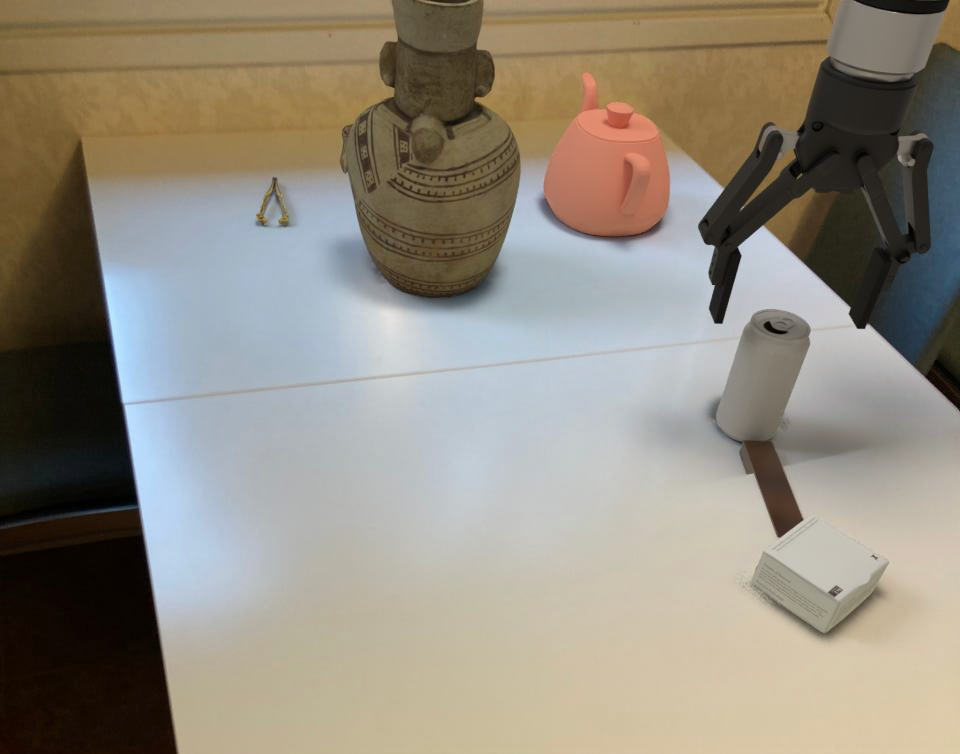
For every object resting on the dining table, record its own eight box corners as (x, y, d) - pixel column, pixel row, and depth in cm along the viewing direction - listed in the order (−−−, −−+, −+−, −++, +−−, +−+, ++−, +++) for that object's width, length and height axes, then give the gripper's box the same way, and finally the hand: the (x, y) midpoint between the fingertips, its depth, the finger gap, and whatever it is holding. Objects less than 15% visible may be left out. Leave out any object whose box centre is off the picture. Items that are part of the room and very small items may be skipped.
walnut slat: (804, 548, 85) (810, 536, 84) (773, 547, 85) (778, 535, 84) (767, 452, 94) (772, 440, 93) (739, 451, 94) (743, 439, 93)
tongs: (284, 182, 126) (283, 167, 125) (291, 231, 118) (290, 216, 117) (252, 183, 125) (251, 167, 124) (257, 232, 118) (256, 217, 116)
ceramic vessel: (397, 216, 122) (399, -63, 99) (537, 267, 116) (573, -19, 93) (307, 272, 111) (286, -28, 88) (456, 332, 105) (475, 25, 82)
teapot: (518, 171, 134) (528, 67, 124) (626, 169, 138) (645, 67, 127) (569, 255, 118) (586, 144, 108) (690, 250, 122) (717, 142, 112)
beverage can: (701, 424, 96) (733, 318, 87) (738, 403, 100) (773, 299, 91) (750, 455, 94) (789, 349, 85) (787, 432, 97) (828, 327, 88)
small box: (794, 553, 84) (814, 510, 81) (869, 602, 81) (893, 560, 77) (743, 592, 81) (761, 549, 77) (819, 645, 77) (841, 603, 73)
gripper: (1007, 57, 75) (901, 303, 90) (703, 39, 73) (649, 293, 89) (1048, 91, 70) (928, 345, 85) (723, 72, 68) (662, 335, 84)
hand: (786, 319), depth 87 cm, fingers open, 13 cm apart
